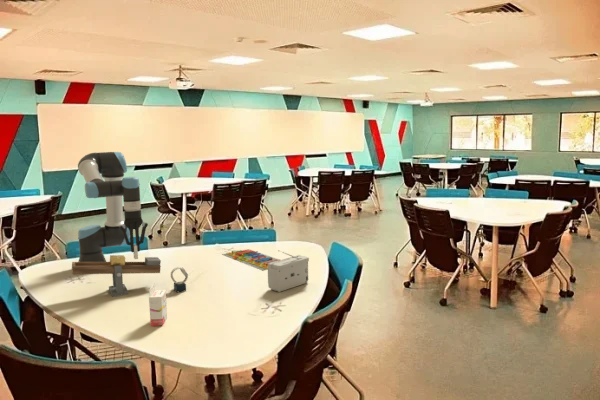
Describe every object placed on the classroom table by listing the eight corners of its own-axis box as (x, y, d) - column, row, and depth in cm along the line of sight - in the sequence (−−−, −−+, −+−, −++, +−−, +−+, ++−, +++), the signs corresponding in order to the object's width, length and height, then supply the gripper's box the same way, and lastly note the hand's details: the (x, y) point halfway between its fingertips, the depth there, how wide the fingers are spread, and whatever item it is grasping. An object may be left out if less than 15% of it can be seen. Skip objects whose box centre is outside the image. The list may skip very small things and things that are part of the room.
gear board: (221, 251, 283) (248, 246, 295) (222, 255, 283) (248, 250, 295) (262, 267, 248) (291, 260, 260) (262, 271, 248) (291, 264, 260)
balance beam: (71, 269, 212) (72, 256, 211) (156, 268, 231) (157, 256, 230) (72, 274, 204) (73, 261, 204) (160, 273, 223) (161, 260, 222)
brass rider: (109, 265, 218) (110, 255, 218) (122, 265, 221) (123, 255, 221) (110, 268, 213) (111, 257, 213) (124, 268, 216) (125, 257, 216)
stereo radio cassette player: (299, 279, 232) (298, 240, 229) (310, 283, 226) (310, 243, 224) (267, 289, 218) (266, 248, 215) (279, 293, 212) (277, 251, 209)
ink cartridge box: (163, 326, 178) (161, 289, 176) (150, 326, 178) (147, 290, 176) (167, 317, 187) (165, 282, 185) (155, 318, 186) (153, 282, 184)
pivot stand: (108, 288, 223) (106, 260, 221) (124, 286, 226) (122, 258, 224) (112, 297, 211) (110, 267, 209) (128, 294, 215) (126, 265, 213)
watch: (190, 289, 219) (189, 267, 218) (173, 293, 215) (171, 270, 214) (187, 286, 224) (185, 264, 223) (170, 289, 220) (169, 267, 219)
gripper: (119, 212, 211) (122, 262, 214) (148, 209, 217) (151, 258, 221) (116, 210, 218) (120, 258, 221) (145, 207, 224) (148, 254, 227)
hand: (135, 258), depth 221 cm, fingers closed
